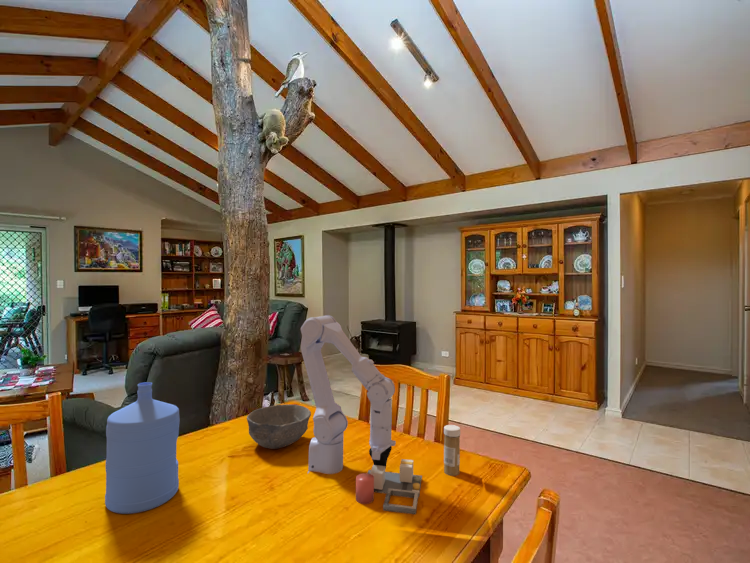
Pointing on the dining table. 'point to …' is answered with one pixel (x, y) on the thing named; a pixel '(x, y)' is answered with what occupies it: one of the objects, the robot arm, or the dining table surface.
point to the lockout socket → (400, 507)
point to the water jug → (141, 454)
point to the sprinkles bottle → (451, 450)
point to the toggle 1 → (378, 476)
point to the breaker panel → (399, 483)
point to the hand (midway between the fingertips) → (380, 474)
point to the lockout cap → (364, 488)
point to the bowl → (278, 425)
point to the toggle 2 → (406, 470)
